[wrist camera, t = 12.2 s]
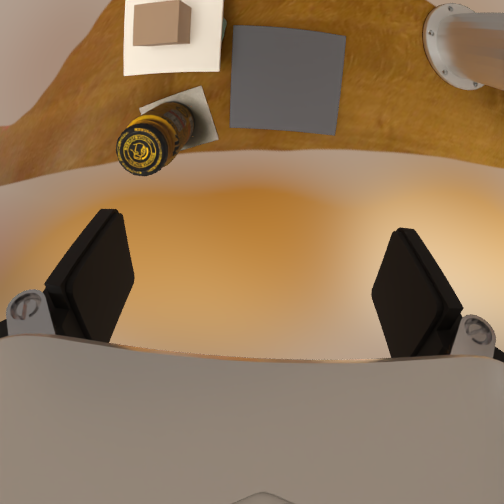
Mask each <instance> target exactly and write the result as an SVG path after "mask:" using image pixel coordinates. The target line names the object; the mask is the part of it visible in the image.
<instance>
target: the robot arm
mask: <svg viewBox="0 0 504 504" xmlns="http://www.w3.org/2000/svg"><path fill="white" fill-rule="evenodd" d="M429 33H430V34H429ZM423 43H424V48H425V52H426V54H427V57H428V60H429V62H430V63H431V65H432V67H433V68H434V70H435V71H436V73H437V74H438V75H439V76H440V77H441V78H442V79H443V80H444V81H446V82H447V83H448V84H450V85H452V86H454V87H457V88H460V89H464V90H475V89H478V88H481V87H482V86H484V85H487V86H491V87H494V88H497V89H500V90H503V91H504V13H475V12H474V11H472V10H471V9H469V8H468V7H466V6H463V5H460V4H454V3H450V4H443V5H440V6H438V7H436V8H434V9H433V10H432V11H431V12H430V13H429V15H428V16H427V18H426V21H425V24H424V28H423ZM442 71H443V72H442ZM133 284H134V271H133V266H132V262H131V257H130V252H129V247H128V242H127V236H126V230H125V225H124V219H123V215H122V214H121V213H119V212H118V210H116V209H101V210H100V211H99V212H98V213H97V214H96V215H95V217H94V218H93V219H92V220H91V221H90V223H89V224H88V225H87V226H86V228H85V229H84V230H83V231H82V233H81V234H80V235H79V237H78V238H77V239H76V241H75V242H74V243H73V244H72V246H71V247H70V249H69V250H68V251H67V252H66V254H65V255H64V257H63V258H62V259H61V261H60V262H59V263H58V265H57V266H56V268H55V269H54V270H53V272H52V273H51V275H50V276H49V278H48V279H47V281H46V282H45V286H46V288H45V290H44V291H43V293H42V292H41V291H39V290H35V289H34V290H26V291H23V292H21V293H20V294H18V295H17V296H15V297H14V298H13V299H12V300H11V302H10V303H9V304H8V307H7V310H6V318H7V319H5V320H3V321H1V322H0V504H504V352H502V351H501V350H499V349H498V348H496V347H495V342H496V336H495V333H494V330H493V329H492V327H491V326H490V325H489V323H488V322H486V321H485V320H484V319H482V318H481V317H478V316H476V315H466V316H465V317H462V315H461V314H460V313H461V311H462V310H463V307H462V304H461V303H460V301H459V299H458V297H457V296H456V294H455V292H454V291H453V289H452V287H451V285H450V284H449V282H448V281H447V279H446V277H445V276H444V274H443V272H442V271H441V269H440V268H439V266H438V264H437V263H436V261H435V259H434V258H433V256H432V255H431V253H430V252H429V250H428V249H427V247H426V246H425V244H424V243H423V241H422V240H421V238H420V237H419V235H418V234H417V233H416V231H415V230H414V229H408V228H398V229H397V230H396V231H394V232H393V233H392V235H391V238H390V241H389V244H388V247H387V250H386V252H385V255H384V258H383V261H382V264H381V267H380V269H379V272H378V275H377V277H376V280H375V283H374V285H373V288H372V300H373V303H374V306H375V309H376V311H377V314H378V317H379V320H380V323H381V326H382V329H383V332H384V336H385V339H386V342H387V345H388V348H389V351H390V355H391V358H380V359H349V360H348V359H347V360H303V359H266V358H246V357H229V356H217V355H204V354H193V353H183V352H174V351H164V350H156V349H148V348H141V347H133V346H127V345H120V344H113V343H109V341H110V338H111V336H112V333H113V331H114V329H115V326H116V324H117V321H118V319H119V316H120V314H121V312H122V309H123V307H124V304H125V302H126V300H127V297H128V295H129V293H130V291H131V288H132V286H133Z"/></svg>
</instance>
